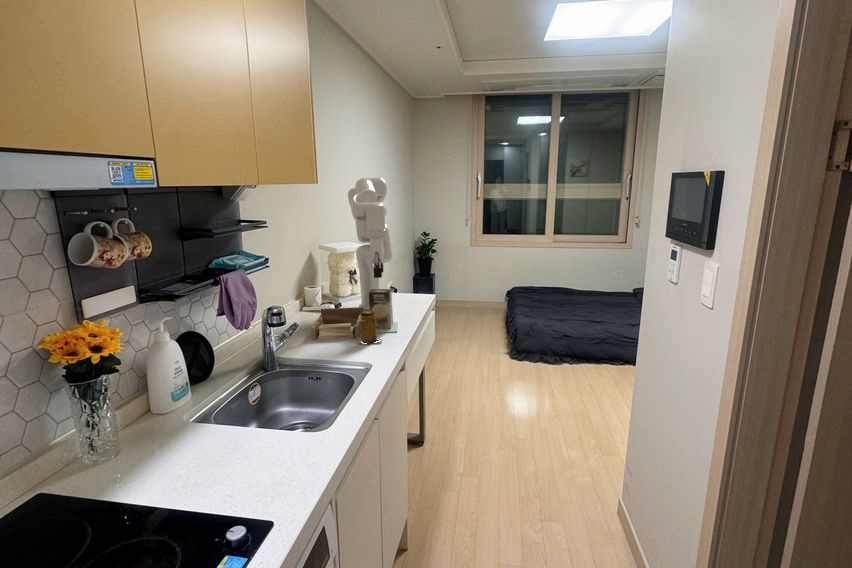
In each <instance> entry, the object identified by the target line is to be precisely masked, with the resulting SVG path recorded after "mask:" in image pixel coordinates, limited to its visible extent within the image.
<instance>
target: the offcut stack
mask: <svg viewBox="0 0 852 568" xmlns="http://www.w3.org/2000/svg"><path fill="white" fill-rule="evenodd" d="M353 327H354V326H352V324H351V323H347V324H327V325H320V327H319V336H318V337H317V339H318V340H319V341H320V340H323V339H324V340H340V339H339V338H345V339H354V338H353V337H355V335H354V334H355V333H354V328H353ZM337 338H338V339H337Z"/></svg>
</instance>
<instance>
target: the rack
mask: <svg viewBox="0 0 852 568" xmlns="http://www.w3.org/2000/svg"><path fill="white" fill-rule="evenodd" d="M362 311H365V310H364V307H359V306H358V307H357V306H356V307H354V306H353V307H331V308H330V307H329V308H320V314H319V316H318V318H317V319H316V320H315V322H314V323H313V324H312V326H311V327H310V334H311V340H312V341H316V340H317V339H318V336H319V327H320V325H327V324H347V323H353V324H355V325H354V326H352V327H353V328H354V333H355V335H354V337H355V339H360V338H361V335H360V334H361V327H360V319H361V312H362Z"/></svg>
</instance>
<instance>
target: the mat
mask: <svg viewBox="0 0 852 568" xmlns="http://www.w3.org/2000/svg"><path fill="white" fill-rule="evenodd" d="M398 326H399V322H398V321H393V326H392V328H391V329H376V334H388V333H389V334H390V333H391V334H392V333H393V332H395V333H398Z"/></svg>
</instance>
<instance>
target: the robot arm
mask: <svg viewBox="0 0 852 568" xmlns="http://www.w3.org/2000/svg"><path fill="white" fill-rule="evenodd" d="M387 191H388V186H387V183H386V181H385V179H384V178H382V177H363V178H360V179H358V180H357V181H356V182H355V185H354V187H352V188H349V190H348V192H347V197H348V198H347V199H348V204H349V206H350V211H351V215H352V217H353V219H354V221H355V228H356V238H357V240H358V241H359V242H360V243H363V245H360V246H358V247H357V248H356V251H355V253H356V254H355V255H356V256H355V257H356V260H357V264H358V272H359V284H360V285H359V288H360V299H361V303H360V304H359V305H358V307H364V311H368V310H370V305H369V292H370V290H371V289H381V288H380V278H381V279H382V277H383V273H384V264H385V263H386V264H387V263H390V262H391V261H392V259H393V252H392V251H393V250H392V243H391V236H390V230H389V227H388V225H387V224H386V215H387V208H386V207H387V206H386V205H385V204H384V203H383V202H384V201H385V197H386V195H387V194H388V193H387ZM364 243H365V244H364ZM366 243H367V244H366ZM368 243H369V244H368Z"/></svg>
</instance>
